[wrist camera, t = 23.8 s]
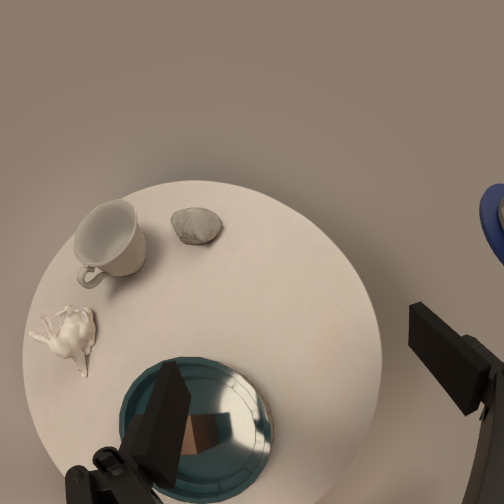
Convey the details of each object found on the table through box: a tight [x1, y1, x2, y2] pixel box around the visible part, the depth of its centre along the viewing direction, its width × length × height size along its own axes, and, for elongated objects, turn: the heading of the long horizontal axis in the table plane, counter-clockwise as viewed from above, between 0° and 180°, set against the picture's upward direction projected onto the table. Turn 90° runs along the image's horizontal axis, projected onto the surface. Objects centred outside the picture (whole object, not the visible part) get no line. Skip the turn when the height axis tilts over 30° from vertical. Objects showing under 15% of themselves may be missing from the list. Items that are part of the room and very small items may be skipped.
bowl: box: [119, 357, 274, 504], centre depth 33 cm, size 20×20×6 cm
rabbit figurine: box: [29, 305, 96, 378], centre depth 40 cm, size 12×8×10 cm, turn 170°
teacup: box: [74, 200, 146, 289], centre depth 46 cm, size 12×15×10 cm
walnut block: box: [181, 413, 220, 455], centre depth 31 cm, size 4×4×10 cm
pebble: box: [171, 208, 221, 244], centre depth 49 cm, size 9×8×5 cm
